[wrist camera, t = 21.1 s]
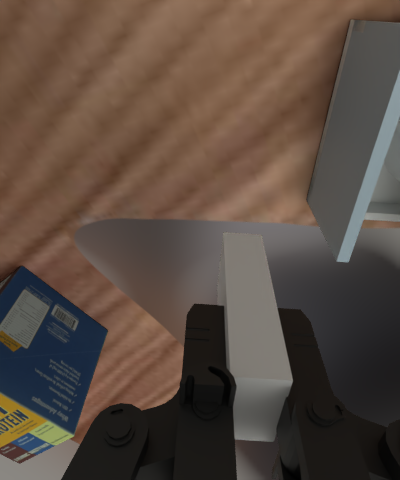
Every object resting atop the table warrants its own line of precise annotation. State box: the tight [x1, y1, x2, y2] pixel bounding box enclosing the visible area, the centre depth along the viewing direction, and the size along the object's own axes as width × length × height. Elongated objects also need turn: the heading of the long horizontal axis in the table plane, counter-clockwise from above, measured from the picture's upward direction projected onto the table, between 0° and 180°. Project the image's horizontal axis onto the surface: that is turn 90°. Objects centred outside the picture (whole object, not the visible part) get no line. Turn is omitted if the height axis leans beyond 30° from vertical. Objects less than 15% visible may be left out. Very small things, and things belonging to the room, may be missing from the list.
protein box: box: [0, 266, 108, 463], centre depth 44 cm, size 10×15×16 cm
